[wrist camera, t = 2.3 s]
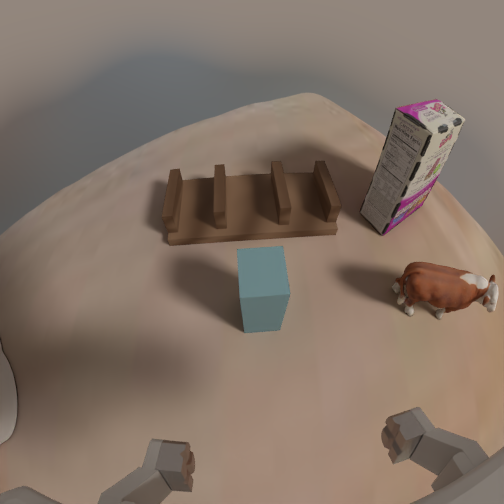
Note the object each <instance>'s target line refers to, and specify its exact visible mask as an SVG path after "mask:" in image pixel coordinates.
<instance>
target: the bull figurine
mask: <svg viewBox="0 0 504 504" xmlns="http://www.w3.org/2000/svg"><path fill="white" fill-rule="evenodd" d="M405 284H406V291H407V294H408V297H406V295H405V293H404V285H405ZM392 289H393V290H394V292H395V293H397V294H398V293H400V289H401V293H400V295H399V297H398V300H397V303H398V304H399V305H401V304H402V303H405V304H406V307H405V313H406V312H407V314H408V316H413V315H414V309H413V304H414V303H415V302H418V301H428V302H429V303H430V304H431V305H433V306H435V307H438V308H443V309H439V310H437V311H436V316H437V319H439V320H440V319H441V318H442V315H443V313H445V312H446V313H449V312H451V311H457V310H459V309H464V308H466V307H468V306H469V305H470V304H471V303H472V302H474V301H477V302H479V303H480V304H482V305H483V306H484V307H486V308H487V311H488V312H492V311H494V310H495V307H496V303H497V299H498V286H497V284H495V275H492V276H491V277H490V280H489V282H488V281H487V280H486V279H485V278H484V277H483V276H479V275H475V274H473V273H470V272H468V271H464V270H458V269H455V268H451V267H447V266H441V265H435V264H432V263H426V262H413V263H410V264H409V265H408V266H407V267H406V268H405V271H404V274H403V275H402V277H401V278H396V282H395V284H394V285H392Z"/></svg>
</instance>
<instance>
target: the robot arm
mask: <svg viewBox="0 0 504 504" xmlns="http://www.w3.org/2000/svg"><path fill="white" fill-rule="evenodd" d="M16 418H17V392H16V385H15V380H14V376H13V373H12V370H11V367H10V364H9V362H8V360H7V358H6V357H5V355H4V353H3V351H2V347H1V342H0V444H1V443H3V442H5V441H6V440H8V439H9V437H10V436H11V435H12V433H13V430H14V427H15V424H16ZM385 423H386V424H387V425H386V426H385V427H384V428H383V430H382V433H381V439H382V443H383V445H384V447H385V448H387V449H389V453H388V455H389V457H390V459H391V461H392V463H393V464H396V463H398V462H401V461H404V460H407V459H409V458H410V460H412V461H414V462H415V463H417V464H419V465H420V466H422V467H424V468H425V469H427V470H429V471H431V472H432V473H434V474H436V475H438V477H437V478H436V479H435V480H434V482H433V483H432V485H431V486H432V488H433V490H434V492H433V493H431V494H429V495H427V496H425V497H423V498H421V499H419V500H417V501H415V502H412V503H410V504H504V447H502V448H501V449H500V450H499V451H497V452H496V453H495V454H493V455H492V456H491V457H488V456H487V454H486V453H485V452H484V451H483V449H482V448H481V447H480V445H479V444H478V443H477V442H476V441H474V440H471V439H468V438H465V437H462V436H459V435H456V434H454V433H451V432H448V431H446V430H443V429H440V428H435V427H434V426H433V424H432V423H431V422H430V420H429V419H428V418H427V416H426V415H425V414H424V412H423V411H422V410H421V408H419V407H416V408H413V409H410V410H407V411H404V412H401V413H398V414H395V415H392V416H389V417H388V418H387V419H386V422H385ZM194 471H195V458H194V454H193V452H191V451H190V444H189V442H179V441H169V440H160V439H152V440H151V441H150V443H149V446H148V449H147V453H146V456H145V459H144V462H143V466H142V468H141V467H138V468H137V469H136V470H134V471H133V472H132V473H130V474H129V475H127V476H126V477H125V478H123V479H122V480H120V481H119V482H118V483H116V484H115V485H113V486H112V487H110V488H109V489H107V490H106V491H104V492H103V493H101V496H100V499H99V501H98V504H160V503H161V502H162V501H163V500H164V499H165V498H166V497H167V496H168V495H169V494H170V493H171V492H172V491H184V492H192V486H193V478H192V476H191V474H192V473H194ZM171 490H172V491H171ZM0 504H62V503H59V502H57V501H55V500H53V499H51V498H49V497H47V496H45V495H43V494H41V493H39V492H37V491H36V490H34V489H32V488H30V487H27V486H22V487H17V488H14V489H11V490H9V491H6V492H3V493H1V494H0Z"/></svg>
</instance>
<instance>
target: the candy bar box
mask: <svg viewBox="0 0 504 504" xmlns="http://www.w3.org/2000/svg"><path fill="white" fill-rule="evenodd" d="M464 122H465V119H464V118H463V117H462V116H460V115H459V114H458V113H456V112H455V111H454V110H452V109H451V108H450V107H448V106H446V105H445V104H444V103H443V102H441V101H439V100H437V99H435V100H431V101H425V102H420V103H415V104H411V105H406V106H401V107H397V108H395V112H394V115H393V118H392V122H391V125H390V129H389V132H388V135H387V138H386V141H385V144H384V147H383V150H382V153H381V156H380V159H379V162H378V165H377V168H376V171H375V173H374V176H373V179H372V182H371V184H370V187H369V189H368V192H367V194H366V197H365V200H364V202H363V205H362V207H361V210H360V214H361V215H362V216H363V217H364V218H365V219H366V220H367V221H368V222H369V223H370V224H372V225H373V227H374V228H375V229H376V230H377V231H378V232H379V233H380V234H381V235H382V236H383V235H385V234H386V233H387V232H389V231H390V230H391V229H392V228H394V227H395V226H396V225H398V224H399V223H400V222H402V221H403V220H404V219H405V218H407V217H408V216H409V215H411V214H412V213H413V212H414V211H416V210H417V209H418V208H420V207H421V206H422V205H423V203H424V201H425V199H426V198H427V196H428V194H429V192H430V191H431V189H432V187H433V185H434V183H435V181H436V179H437V178H438V176H439V174H440V172H441V170H442V168H443V166H444V164H445V162H446V160H447V158H448V156H449V154H450V152H451V150H452V148H453V146H454V144H455V142H456V140H457V137H458V135H459V133H460V130H461V128H462V126H463V124H464Z"/></svg>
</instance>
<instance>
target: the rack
mask: <svg viewBox="0 0 504 504" xmlns="http://www.w3.org/2000/svg"><path fill="white" fill-rule="evenodd" d="M340 209H341V203H340V200H339V197H338V195H337V192H336V189H335V187H334V184H333V181H332V179H331V176H330V174H329V171H328V169H327V166H326V164H325V161H316V162H315V167H314V172H313V173H284V172H283V168H282V164H281V161H275V162H272V164H271V174H256V175H239V176H225V167H224V164H222V165H215V174H214V177H213V178H202V179H192V180H182V177H181V173H180V169H173V170H170V175H169V180H168V185H167V190H166V195H165V201H164V207H163V213H162V219H163V221H164V224H165V226H166V228H167V231H168V242H169V244H170V246H174V245H187V244H200V243H214V242H228V241H243V240H258V239H273V238H289V237H305V236H322V235H336V232H337V229H338V228H337V225H336V220H337V217H338V214H339V212H340Z"/></svg>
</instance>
